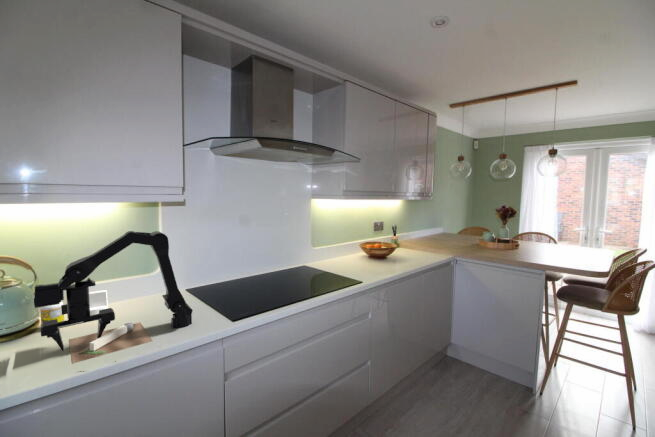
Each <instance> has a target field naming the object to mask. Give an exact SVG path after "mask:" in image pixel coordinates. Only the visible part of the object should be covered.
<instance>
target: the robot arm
mask: <svg viewBox="0 0 655 437" xmlns="http://www.w3.org/2000/svg"><path fill="white" fill-rule="evenodd" d="M169 243H170V242H169V237H168V236H167V235H166V234H165V233H163V232H161V231H153V232H146V231H145V232H143V231H142V232H141V231H140V232H139V231H133V230H128V231H125V233H124V234H123V235H121V236H119V237H118V238H116V239H115V240H112V241H111V242H110V243H108V244H107V245H105V246H104V247H101V248H100V249H99V250H97V251H95V252H93V253H91V254H90V255H88V256H84V257H82V258H79V259H76V260H74V261H73V262H70V263H69V264H68V265H66V267H65V272H64V274H63V276H62V277H61V278H60V279H59V280H58V282H56V283H49V284H36V285H34V298H33V306H34V308H35V309H37V308H40V307H45V306H51V305H57V304H60V302H62V301H64V300H65V296H66V304H63V305H61V310H62V315H67V320H64V321H62V322H57V319H54V320H49V321H45V322H43V323H42V324H41V323H40V337H46V338H47V339H49V338H50V339H53V341H55V343H57V345H58V347H59V348H60V350H61V351H62V352H64V351H65V350H64V349H65V348H64V342H63V338H62V335H61V334H62V333H61V330H60V329H63V328H67V327H71V326H75V325H81V324H84V323H85V324H86V323H89V322H93V321H94V320H95V321H98V322H97V332H96V333H97V339H98V338H100V337H101V336H102V333H103V331H105V329H106V327H107V326H108V325H109V324H111V322H112V321H115V320H116V313H115V311H114V309H113V308H112V307H108V309H103V310H99V314H95V315H90V302H89V292H90V287H95V286H96V281H95V280H93V279H91V278H90V277H89V276H90V275H91V274H92V273H93V272H94V271H95V270H96V269H98V267H99V266H101V264H103V263H104V262H106V261H107V260H109V259H111V258H113V257H114V256H115V255H117V254H119V253H120V252H121V251H123V250H125V249H126V248H128V247H129V246H131V245H132V244H138V245H139V244H140V245H145V246H150V248H151V249H152V252H153V253H154V255H155V256H156V260H157V263H158V266H159V270H160V274H161V277H162V280H163V284H164V287H165V291H166V292H165V294H162V295H161V297H162V298H163V300H164V305H165V308H167V310H170V311H171V313H172V317H171V319H170V321H171V324H170V325H171V328H172V329H182V328H186V327H189V326H190V325H192V322H193V321H192V320H193V319H192V318H193V317H192V316H193V315H192V314H193V308H191V306H190V305H189V304H187V301H186V300H185V298H184V296H183V294H182V293H181V291H180V290H179V287H178V283H177V280H176V277H175V273H174V269H173V266H172V263H171V259H170V254H169V253H170V252H169V251H170V244H169ZM64 291H65V292H66V293H65V292H64ZM64 294H65V295H64Z"/></svg>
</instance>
